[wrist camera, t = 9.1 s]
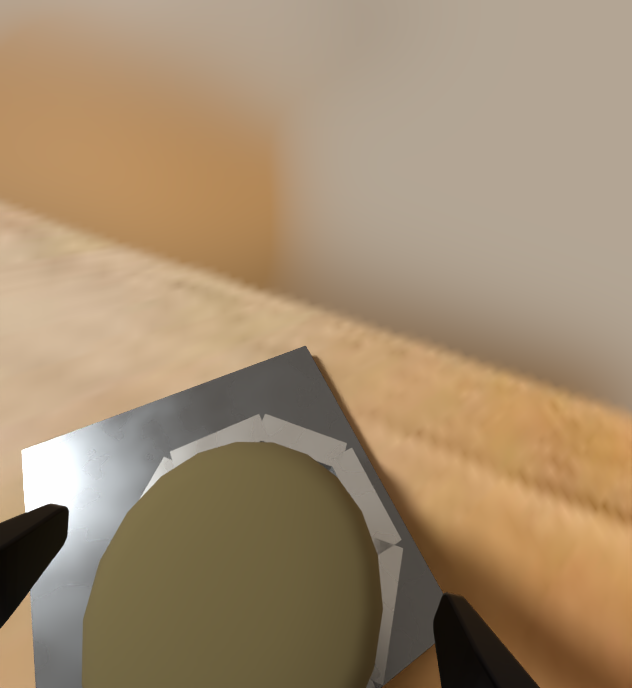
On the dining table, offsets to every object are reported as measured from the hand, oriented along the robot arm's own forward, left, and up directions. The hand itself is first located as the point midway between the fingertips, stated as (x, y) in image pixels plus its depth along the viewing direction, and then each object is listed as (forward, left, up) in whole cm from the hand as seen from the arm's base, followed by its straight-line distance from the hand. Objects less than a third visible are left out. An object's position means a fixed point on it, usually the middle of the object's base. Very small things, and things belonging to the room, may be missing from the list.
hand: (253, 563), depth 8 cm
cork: (0, 0, -8) cm, 8 cm away
